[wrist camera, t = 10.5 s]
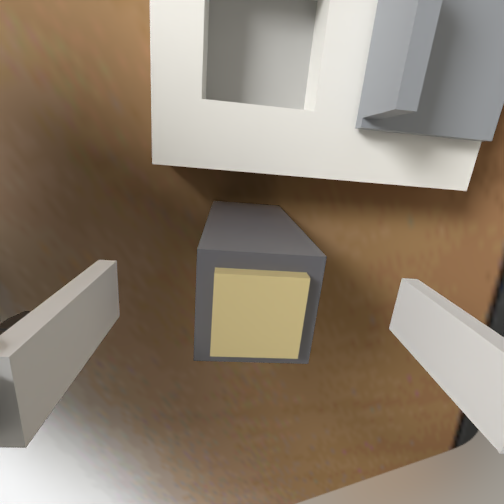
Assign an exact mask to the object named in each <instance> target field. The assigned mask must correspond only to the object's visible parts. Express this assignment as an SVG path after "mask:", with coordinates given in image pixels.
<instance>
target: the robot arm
mask: <svg viewBox="0 0 504 504" xmlns="http://www.w3.org/2000/svg"><path fill="white" fill-rule="evenodd" d="M119 316H120V312H119V293H118V274H117V261H114V260H98V261H96V262H95V263H94V264H92V265H91V266H90V267H88V268H87V269H86V270H85V271H83V272H82V273H81V274H79V275H78V276H77V277H75V278H74V279H73V280H71V281H70V282H69V283H68V284H66V285H65V286H64V287H62V288H61V289H60V290H58V291H57V292H56V293H55V294H53V295H52V296H51V297H49V298H48V299H47V300H45V301H44V302H43V303H42V304H40V305H39V306H38V307H36V308H35V309H34V310H32V311H25V312H22V313H20V314H18V315H15V316H13V317H11V318H9V319H7V320H5V321H4V322H3V323H1V324H0V447H20V448H26V447H27V445H28V444H29V442H30V441H31V440H32V438H33V437H34V435H35V434H36V433H37V431H38V430H39V428H40V427H41V426H42V424H43V423H44V421H45V420H46V419H47V417H48V416H49V414H50V413H51V412H52V410H53V409H54V407H55V406H56V405H57V403H58V402H59V400H60V399H61V398H62V396H63V395H64V393H65V392H66V391H67V389H68V388H69V386H70V385H71V384H72V382H73V381H74V379H75V378H76V377H77V375H78V374H79V372H80V371H81V370H82V368H83V367H84V365H85V364H86V363H87V361H88V360H89V358H90V357H91V356H92V354H93V353H94V351H95V350H96V349H97V347H98V346H99V344H100V343H101V342H102V340H103V339H104V337H105V336H106V335H107V333H108V332H109V330H110V329H111V328H112V326H113V325H114V323H115V322H116V321H117V319H118V318H119ZM389 329H390V331H391V332H392V333H393V334H394V335H395V336H396V337H397V338H398V340H399V341H400V342H401V343H402V344H403V345H404V346H405V347H406V349H407V350H408V351H409V352H410V353H411V354H412V355H413V356H414V358H415V359H416V360H417V361H418V362H419V363H420V364H421V365H422V366H423V368H424V369H425V370H426V371H427V372H428V373H429V374H430V375H431V377H432V378H433V379H434V380H435V381H436V382H437V383H438V384H439V386H440V387H441V388H442V389H443V390H444V391H445V392H446V393H447V395H448V396H449V397H450V398H451V399H452V400H453V401H454V402H455V404H456V405H457V406H458V407H459V408H460V409H461V410H462V411H463V413H464V414H465V415H466V416H467V417H468V418H469V419H470V420H471V421H472V423H473V424H474V425H475V426H476V427H477V428H478V429H479V430H480V432H481V433H482V434H483V435H484V436H485V437H486V438H487V439H488V441H489V442H490V443H491V444H492V445H493V446H494V447H495V448H496V449H497V450H498V452H499V453H500V454H504V337H502V336H501V335H499V334H498V333H496V332H495V331H493V330H492V329H490V328H489V327H488V326H486V325H485V324H483V323H482V322H480V321H479V320H477V319H476V318H474V317H473V316H471V315H470V314H468V313H467V312H465V311H464V310H462V309H461V308H459V307H458V306H456V305H455V304H454V303H452V302H451V301H449V300H448V299H446V298H445V297H443V296H442V295H440V294H439V293H437V292H436V291H434V290H433V289H431V288H430V287H428V286H427V285H425V284H424V283H422V282H421V281H419V280H418V279H408V278H402V280H401V284H400V288H399V292H398V296H397V299H396V303H395V307H394V311H393V315H392V319H391V323H390V327H389Z"/></svg>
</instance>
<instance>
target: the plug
mask: <svg viewBox="0 0 504 504" xmlns="http://www.w3.org/2000/svg"><path fill="white" fill-rule="evenodd" d="M326 258H327V257H326V256H325V254H324V253H323V252H322V251H321V250H320V249H319V248H318V247H317V246H316V245H315V244H314V243H313V242H312V241H311V239H310V238H309V237H308V236H307V235H306V234H305V233H304V232H303V231H302V230H301V229H300V228H299V227H298V226H297V224H296V223H295V222H294V221H293V220H292V219H291V218H290V217H289V216H288V215H287V214H286V213H285V212H284V211H283V210H282V208H281V207H280V206H277V205H264V204H251V203H238V202H225V201H213V203H212V206H211V209H210V212H209V215H208V218H207V221H206V224H205V227H204V230H203V233H202V236H201V239H200V242H199V245H198V248H197V270H196V301H195V332H194V361H224V362H263V363H302V364H308V362H309V357H310V351H311V345H312V339H313V333H314V328H315V322H316V316H317V310H318V304H319V299H320V293H321V287H322V281H323V276H324V270H325V264H326Z"/></svg>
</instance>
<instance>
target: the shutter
mask: <svg viewBox="0 0 504 504" xmlns="http://www.w3.org/2000/svg"><path fill="white" fill-rule="evenodd" d="M503 104H504V0H378V3H377V9H376V15H375V20H374V26H373V31H372V37H371V43H370V48H369V54H368V59H367V65H366V71H365V76H364V82H363V87H362V93H361V99H360V104H359V110H358V115H357V121H356V127H355V129H364V130H374V131H383V132H393V133H403V134H413V135H422V136H432V137H442V138H451V139H461V140H471V141H481V142H482V141H492V139H493V136H494V133H495V129H496V126H497V123H498V120H499V117H500V113H501V110H502V107H503Z"/></svg>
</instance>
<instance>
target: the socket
mask: <svg viewBox="0 0 504 504" xmlns="http://www.w3.org/2000/svg"><path fill="white" fill-rule="evenodd" d="M377 3H378V0H150V51H151V118H152V164H158V165H170V166H182V167H193V168H205V169H217V170H228V171H240V172H252V173H263V174H275V175H287V176H298V177H310V178H322V179H333V180H345V181H357V182H368V183H380V184H392V185H403V186H415V187H427V188H438V189H450V190H462V191H467V188H468V185H469V181H470V178H471V175H472V172H473V168H474V165H475V162H476V158H477V155H478V152H479V148H480V145H481V141H471V140H461V139H451V138H442V137H432V136H422V135H413V134H403V133H393V132H383V131H374V130H364V129H355V127H356V121H357V115H358V110H359V104H360V99H361V93H362V87H363V82H364V76H365V71H366V65H367V59H368V54H369V48H370V43H371V37H372V31H373V26H374V20H375V15H376V9H377Z"/></svg>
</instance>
